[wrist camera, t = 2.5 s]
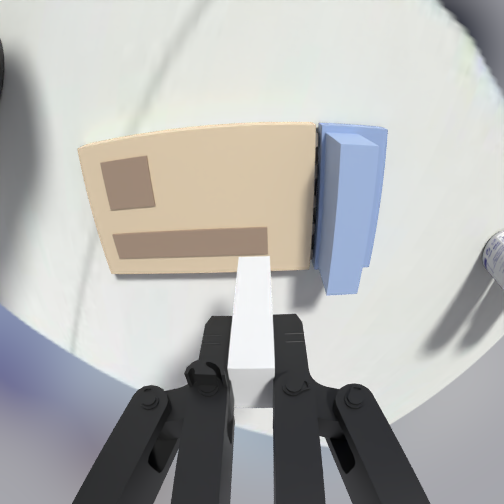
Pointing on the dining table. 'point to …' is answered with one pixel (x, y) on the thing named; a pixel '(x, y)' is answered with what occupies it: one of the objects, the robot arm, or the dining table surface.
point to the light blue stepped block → (347, 202)
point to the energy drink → (495, 257)
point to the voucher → (204, 197)
